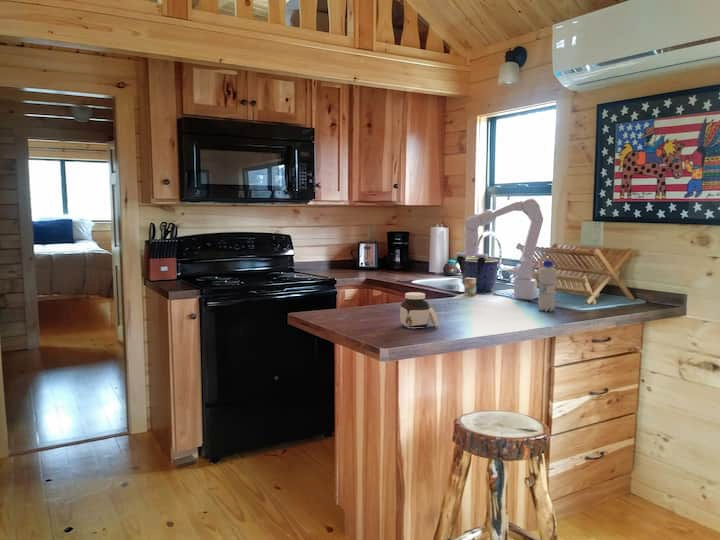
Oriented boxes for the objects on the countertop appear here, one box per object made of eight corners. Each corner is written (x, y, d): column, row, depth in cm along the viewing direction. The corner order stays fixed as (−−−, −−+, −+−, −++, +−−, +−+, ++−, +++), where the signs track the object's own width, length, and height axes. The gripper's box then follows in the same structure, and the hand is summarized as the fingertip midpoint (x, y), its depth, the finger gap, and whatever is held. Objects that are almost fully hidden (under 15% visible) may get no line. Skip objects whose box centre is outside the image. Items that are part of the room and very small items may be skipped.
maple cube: (476, 286, 261) (476, 278, 261) (472, 288, 258) (473, 279, 257) (467, 286, 263) (467, 277, 263) (464, 287, 260) (464, 278, 259)
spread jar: (396, 325, 201) (397, 292, 200) (421, 322, 208) (421, 289, 206) (419, 332, 191) (420, 297, 190) (444, 328, 198) (445, 294, 197)
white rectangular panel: (506, 298, 258) (506, 296, 258) (495, 303, 244) (495, 302, 244) (463, 294, 268) (463, 293, 268) (450, 299, 254) (450, 298, 254)
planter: (473, 287, 288) (474, 257, 287) (503, 291, 277) (505, 259, 275) (453, 291, 277) (454, 259, 275) (484, 295, 265) (485, 262, 263)
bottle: (546, 312, 225) (548, 261, 223) (533, 309, 231) (535, 260, 228) (558, 311, 228) (561, 260, 226) (546, 308, 234) (548, 259, 232)
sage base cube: (476, 295, 262) (476, 286, 261) (473, 296, 258) (473, 287, 258) (467, 294, 264) (467, 286, 263) (464, 296, 260) (464, 287, 260)
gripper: (453, 243, 258) (452, 273, 260) (484, 245, 251) (483, 276, 253) (458, 242, 264) (458, 272, 266) (489, 243, 257) (488, 274, 259)
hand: (470, 274), depth 260 cm, fingers open, 7 cm apart
